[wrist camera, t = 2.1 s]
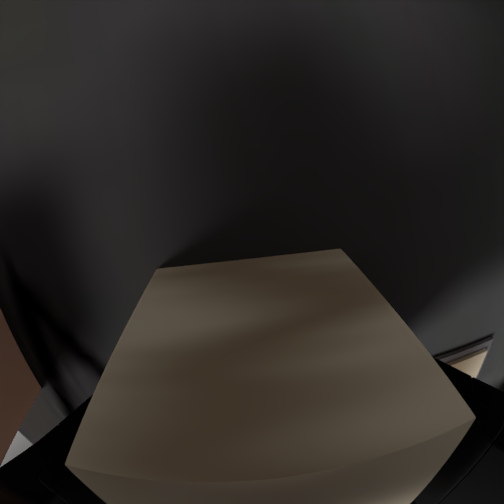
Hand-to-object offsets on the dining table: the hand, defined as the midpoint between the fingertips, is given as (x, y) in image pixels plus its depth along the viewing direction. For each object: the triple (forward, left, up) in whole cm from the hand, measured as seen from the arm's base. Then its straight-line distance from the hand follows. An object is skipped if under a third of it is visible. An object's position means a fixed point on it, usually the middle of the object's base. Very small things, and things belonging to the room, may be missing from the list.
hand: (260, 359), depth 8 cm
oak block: (0, 0, -1) cm, 1 cm away
